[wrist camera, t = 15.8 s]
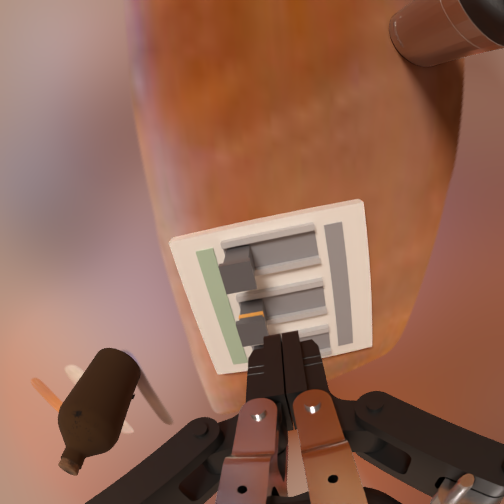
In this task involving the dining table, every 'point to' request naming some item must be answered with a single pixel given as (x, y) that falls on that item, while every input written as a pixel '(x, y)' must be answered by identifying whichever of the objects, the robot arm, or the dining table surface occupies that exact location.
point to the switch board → (281, 280)
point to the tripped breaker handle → (252, 323)
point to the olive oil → (97, 407)
